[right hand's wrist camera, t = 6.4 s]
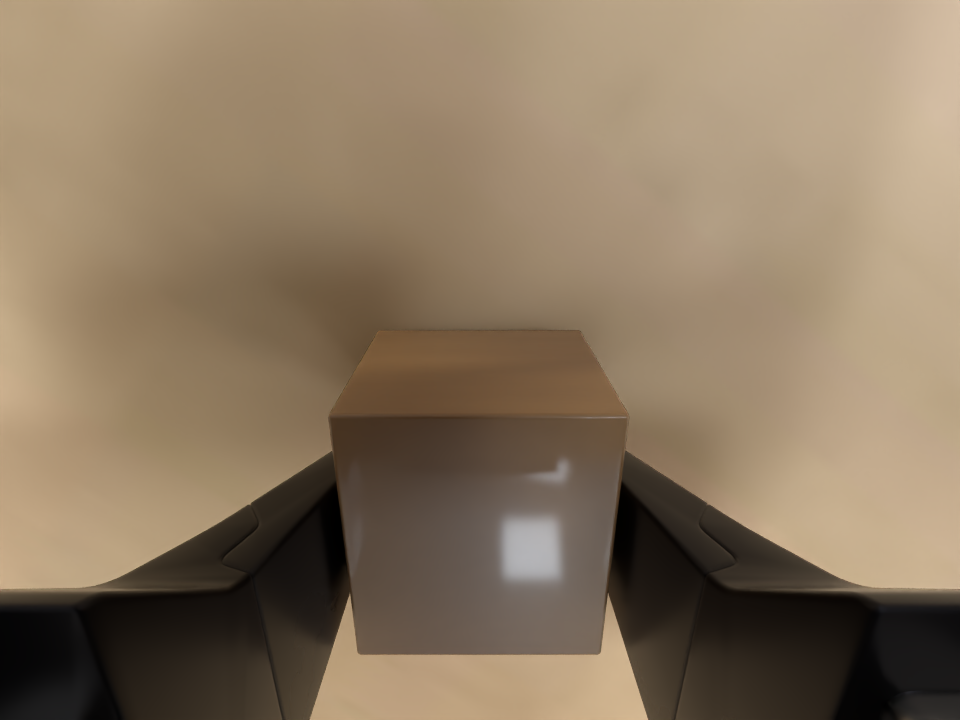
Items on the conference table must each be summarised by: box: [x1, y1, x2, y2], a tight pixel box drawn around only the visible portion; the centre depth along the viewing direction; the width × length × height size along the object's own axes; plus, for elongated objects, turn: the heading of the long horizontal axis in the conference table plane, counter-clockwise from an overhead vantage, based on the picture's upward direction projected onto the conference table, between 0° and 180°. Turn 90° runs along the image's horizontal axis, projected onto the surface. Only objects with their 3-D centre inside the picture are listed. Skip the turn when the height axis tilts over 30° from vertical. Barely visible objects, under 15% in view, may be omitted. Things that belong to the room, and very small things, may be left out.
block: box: [328, 330, 629, 655], centre depth 10 cm, size 5×5×4 cm
